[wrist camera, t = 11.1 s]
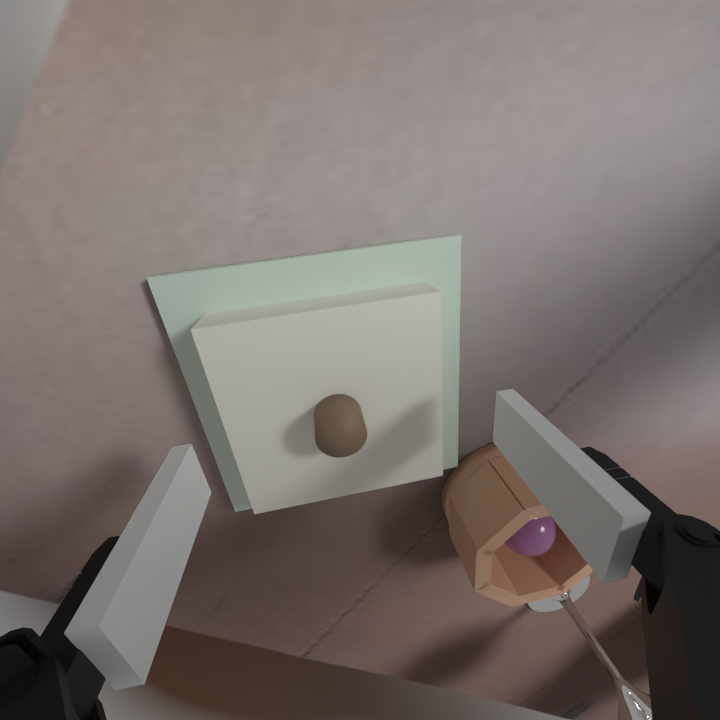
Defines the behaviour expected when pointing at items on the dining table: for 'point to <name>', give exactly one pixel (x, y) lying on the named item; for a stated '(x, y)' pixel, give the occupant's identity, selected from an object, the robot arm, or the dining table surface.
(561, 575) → the pot
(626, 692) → the wineglass
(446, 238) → the mat
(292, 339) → the lid
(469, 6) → the dining table surface
